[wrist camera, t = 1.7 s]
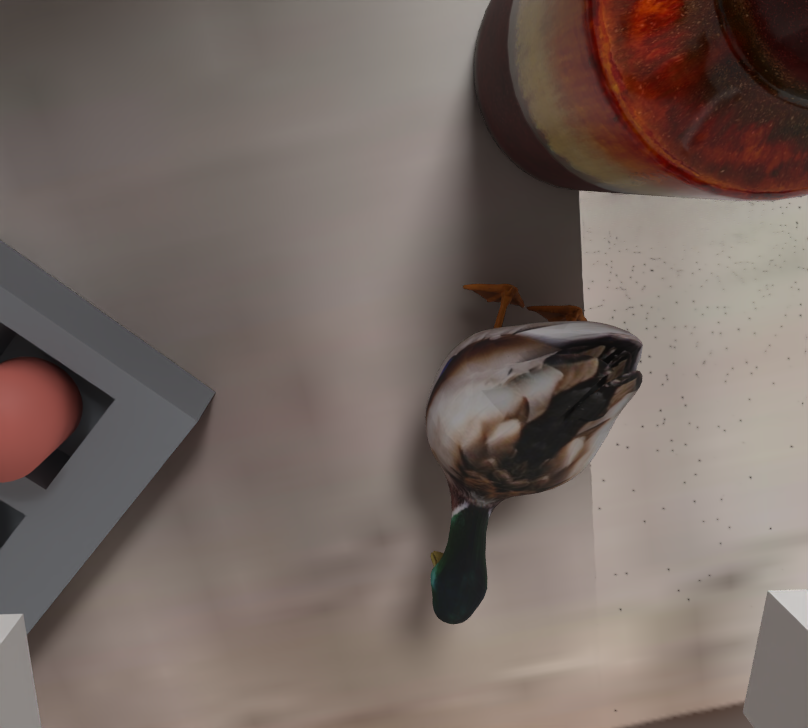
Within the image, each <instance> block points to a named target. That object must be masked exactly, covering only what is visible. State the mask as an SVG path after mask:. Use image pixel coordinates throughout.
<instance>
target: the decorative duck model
mask: <svg viewBox="0 0 808 728" xmlns="http://www.w3.org/2000/svg"><path fill="white" fill-rule="evenodd" d="M463 288H464V289H468V290H472V291H474V292H476V293H478V294H479V295H481V296H482V297H483V298H485V299H486V300H487V302H493V301H494V302H501V306H500V309H499V312H498V315H497V319H496V322H495V325H494V328H493V329H488V330H484V331H481V332H477V333H476V334H474V335H472V336H470V337H468V338H467V339H465V340H464V341H463V342H461V343H460V344H459V345H458V346H456V347H455V348H454V349H453V350H452V351H451V352H450V353H449V355H448V356H447V357H446V359H445V360H444V362H443V363H442V365H441V367H440V369H439V371H438V373H437V375H436V377H435V380H434V382H433V385H432V387H431V390H430V394H429V397H428V401H427V407H426V432H427V437H428V441H429V445H430V448H431V450H432V453H433V455H434V457H435V459H436V460H437V462H438V463H439V465H440V467H441V468H442V470H443V472H444V474H445V476H446V478H447V481H448V485H449V488H450V493H451V503H452V516H451V526H450V532H449V538H448V543H447V546H446V549H445V552H444V553H441V552H437V551H433V553H431V560H432V563H433V566H434V568H433V570H432V572H431V587H432V595H433V609H434V612H435V614H436V616H437V617H438V618H439V619H440V620H442V621H443V622H446V623H449V624H458V623H462V622H464V621H466V620H467V619H468V618H469V617H470V616H471V615H472V614H473V612H474V611H475V610H476V608H477V607H478V606H479V604H480V603H481V601H482V600H483V598H484V596H485V593H486V590H487V569H486V558H485V550H486V530H487V525H488V520H489V517H490V515H491V513H492V511H493V509H494V508H495V507H496V506H497V505H498V504H499V503H500V502H501V501H503V500H504V499H506V498H509V497H512V496H520V495H527V494H534V493H539V492H543V491H546V490H550V489H553V488H555V487H557V486H560V485H562V484H564V483H566V482H567V481H569V480H571V479H573V478H574V477H575V476H577V475H578V474H579V473H581V472H582V471H583V469H584V468H585V467H586V466H587V465H588V464H589V463H590V462H591V460H592V459H593V458H594V456H595V455H596V453H597V451H598V450H599V448H600V446H601V445H602V443H603V441H604V440H605V438H606V436H607V435H608V433H609V431H610V429H611V428H612V426H613V424H614V422H615V420H616V418H617V417H618V415H619V414H620V412H621V411H622V410H623V408H624V407H625V406H626V405H627V403H628V402H629V401H630V400H631V399H632V397H633V396H634V395H635V394H636V392H637V390H638V389H639V387H640V385H641V383H642V374H641V372H640V371H636V368H637V365H638V362H639V360H640V358H641V353H642V346H643V345H642V342H641V341H640V340H639V339H638V338H637V337H636V336H634V335H633V334H631V333H630V332H628V331H625V330H623V329H620V328H617V327H615V326H611V325H607V324H603V323H597V322H590V321H587V319H586V318H585V317H584V316H583V312H582V309H581V308H579V307H577V306H571V305H565V306H531V307H527V309H528V310H531V311H535V312H537V313H539V314H540V315H542V316H543V317H545V318H546V319H547V320H548V321H549V322H540V323H530V324H523V325H516V326H508V327H502V324H503V320H504V316H505V312H506V308H507V306H508V305H509V304H514V305H519V306H521V307H522V308H524V306H525V305H524V302H523V300H522V298H521V296H520V294H519V293H518V289H517V288H516V287H515V286H513V285H510V284H471V285H464V286H463Z"/></svg>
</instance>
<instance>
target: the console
mask: <svg viewBox="0 0 808 728" xmlns="http://www.w3.org/2000/svg"><path fill="white" fill-rule="evenodd" d="M16 357H36V358H41V359H44V360H47V361H49V362H52V363H54V364H55V365H57V366H59V367H60V368H61V369H63V370H64V371H65V372H66V373H67V374H68V375H69V376H70V377H71V378H72V379H73V380H74V382H75V384H76V385H77V387H78V389H79V391H80V394H81V397H82V403H83V411H82V417H81V421H80V423H79V425H78V427H77V428H76V430H75V431H74V432H73V433H72V434H71V435H70V436H69V437H68V438H67V439H66V440H65V441H64V442H63V443H62V444H61V445H60V446H59V447H58V448H57V449H56V450H54V451H53V452H52V453H51V454H50V455H49V456H48V457H47V458H46V459H45V460H44V461H43V462H42V463H41V464H40V465H39V466H37V467H36V468H35V469H34V470H33V471H32V472H31V473H29V474H28V475H26V476H24V477H22V478H20V479H17V480H14V481H10V482H3V483H0V614H23V615H24V622H25V628H26V634H28V633H29V632H30V630H31V629H32V628H33V627H34V625H35V624H36V623H37V622H38V620H39V619H40V618H41V617H42V615H43V614H44V613H45V612H46V610H47V609H48V608H49V607H50V605H51V604H52V603H53V602H54V600H55V599H56V598H57V597H58V595H59V594H60V593H61V592H62V590H63V589H64V588H65V587H66V585H67V584H68V583H69V582H70V580H71V579H72V578H73V577H74V575H75V574H76V573H77V572H78V570H79V569H80V568H81V567H82V565H83V564H84V563H85V562H86V560H87V559H88V558H89V557H90V555H91V554H92V553H93V552H94V550H95V549H96V548H97V547H98V545H99V544H100V543H101V542H102V540H103V539H104V538H105V537H106V535H107V534H108V533H109V532H110V530H111V529H112V528H113V527H114V525H115V524H116V523H117V522H118V520H119V519H120V518H121V517H122V515H123V514H124V513H125V512H126V510H127V509H128V508H129V507H130V505H131V504H132V503H133V502H134V500H135V499H136V498H137V497H138V495H139V494H140V493H141V492H142V490H143V489H144V488H145V487H146V485H147V484H148V483H149V482H150V480H151V479H152V478H153V477H154V475H155V474H156V473H157V472H158V470H159V469H160V468H161V467H162V465H163V464H164V463H165V462H166V460H167V459H168V458H169V457H170V455H171V454H172V453H173V452H174V450H175V449H176V448H177V447H178V445H179V444H180V443H181V442H182V440H183V439H184V438H185V437H186V435H187V434H188V433H189V432H190V430H191V429H192V428H193V427H194V425H195V424H196V423H197V422H198V420H199V418H200V417H201V415H202V413H203V412H204V410H205V409H206V407H207V405H208V404H209V402H210V400H211V399H212V397H213V395H214V394H215V391H213V390H212V389H210V388H209V387H207V386H206V385H205V384H203V383H202V382H200V381H199V380H198V379H196V378H195V377H193V376H192V375H190V374H189V373H188V372H186V371H185V370H183V369H182V368H181V367H179V366H178V365H176V364H175V363H174V362H172V361H171V360H169V359H168V358H166V357H165V356H164V355H162V354H161V353H159V352H158V351H157V350H155V349H154V348H152V347H151V346H149V345H148V344H147V343H145V342H144V341H142V340H141V339H140V338H138V337H137V336H135V335H134V334H133V333H131V332H130V331H128V330H127V329H125V328H124V327H123V326H121V325H120V324H118V323H117V322H116V321H114V320H113V319H111V318H110V317H108V316H107V315H106V314H104V313H103V312H101V311H100V310H99V309H97V308H96V307H94V306H93V305H92V304H90V303H89V302H87V301H86V300H84V299H83V298H82V297H80V296H79V295H77V294H76V293H75V292H73V291H72V290H70V289H69V288H67V287H66V286H65V285H63V284H62V283H60V282H59V281H58V280H56V279H55V278H53V277H52V276H51V275H49V274H48V273H46V272H45V271H43V270H42V269H41V268H39V267H38V266H36V265H35V264H34V263H32V262H31V261H29V260H28V259H26V258H25V257H24V256H22V255H21V254H19V253H18V252H17V251H15V250H14V249H12V248H11V247H9V246H8V245H7V244H5V243H4V242H2V241H1V240H0V363H2V362H4V361H6V360H9V359H12V358H16Z"/></svg>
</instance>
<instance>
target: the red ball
mask: <svg viewBox="0 0 808 728" xmlns="http://www.w3.org/2000/svg"><path fill="white" fill-rule="evenodd" d="M82 411H83V403H82V397H81V394H80V391H79V389H78V387H77V385H76V384H75V382H74V380H73V379H72V378H71V377H70V376H69V375H68V374H67V373H66V372H65V371H64V370H63V369H61V368H60V367H59V366H57V365H55V364H54V363H52V362H49V361H47V360H44V359H41V358H36V357H16V358H12V359H9V360H6V361H4V362H2V363H0V483H3V482H10V481H14V480H17V479H20V478H22V477H24V476H26V475H28V474H29V473H31V472H32V471H33V470H34V469H35V468H36V467H37V466H39V465H40V464H41V463H42V462H43V461H44V460H45V459H46V458H47V457H48V456H49V455H50V454H51V453H52V452H53V451H54V450H56V449H57V448H58V447H59V446H60V445H61V444H62V443H63V442H64V441H65V440H66V439H67V438H68V437H69V436H70V435H71V434H72V433H73V432H74V431H75V430H76V428H77V427H78V425H79V423H80V421H81V417H82Z"/></svg>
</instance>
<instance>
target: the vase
mask: <svg viewBox="0 0 808 728" xmlns="http://www.w3.org/2000/svg"><path fill="white" fill-rule="evenodd" d="M474 78H475V88H476V95H477V99H478V103H479V107H480V111H481V114H482V116H483V119H484V121H485V124H486V126H487V128H488V130H489V132H490V134H491V135H492V137H493V139H494V140H495V142H496V143H497V145H498V146H499V148H500V149H501V150H502V151H503V152H504V153H505V155H506V156H507V157H508V158H509V159H510V160H511V161H512V162H513V163H515V164H516V165H517V166H518V167H519V168H521V169H522V170H523V171H524V172H526V173H528V174H529V175H531V176H533V177H534V178H536V179H538V180H540V181H542V182H545V183H548V184H551V185H553V186H556V187H561V188H567V189H572V190H582V191H596V192H609V193H623V194H637V195H652V196H667V197H682V198H696V199H714V200H736V201H775V200H781V199H788V198H795V197H801V196H806V195H808V0H491V1H490V3H489V5H488V7H487V9H486V11H485V14H484V17H483V20H482V23H481V26H480V29H479V33H478V38H477V44H476V49H475V62H474Z"/></svg>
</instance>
